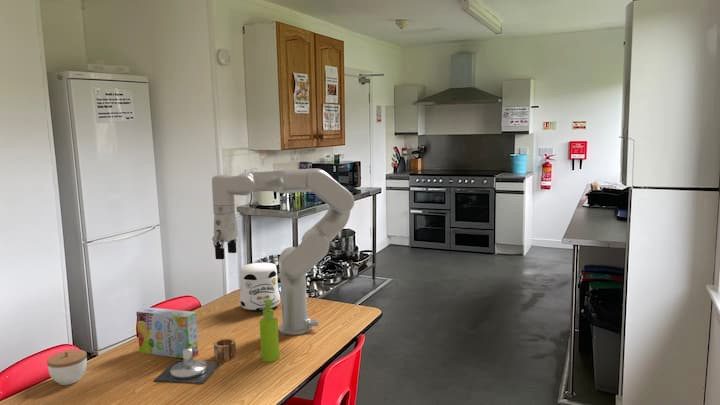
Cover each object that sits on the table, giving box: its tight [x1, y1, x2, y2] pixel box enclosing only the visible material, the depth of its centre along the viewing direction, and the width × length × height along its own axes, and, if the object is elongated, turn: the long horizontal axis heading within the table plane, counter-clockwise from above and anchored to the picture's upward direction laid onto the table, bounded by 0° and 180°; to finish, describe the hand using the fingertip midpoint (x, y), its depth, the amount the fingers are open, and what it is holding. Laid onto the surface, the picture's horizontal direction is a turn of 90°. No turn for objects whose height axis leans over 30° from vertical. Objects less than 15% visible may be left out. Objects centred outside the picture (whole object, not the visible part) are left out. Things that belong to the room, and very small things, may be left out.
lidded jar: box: [46, 349, 88, 386], centre depth 161 cm, size 11×11×9 cm
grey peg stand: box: [153, 347, 223, 385], centre depth 164 cm, size 16×14×8 cm
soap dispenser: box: [259, 299, 280, 363], centre depth 172 cm, size 6×7×20 cm
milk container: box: [238, 262, 281, 312], centre depth 223 cm, size 17×17×18 cm
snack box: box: [136, 306, 199, 359], centre depth 179 cm, size 21×6×15 cm, turn 71°
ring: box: [213, 337, 237, 362], centre depth 175 cm, size 7×7×5 cm
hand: (226, 255), depth 190 cm, fingers open, 9 cm apart
